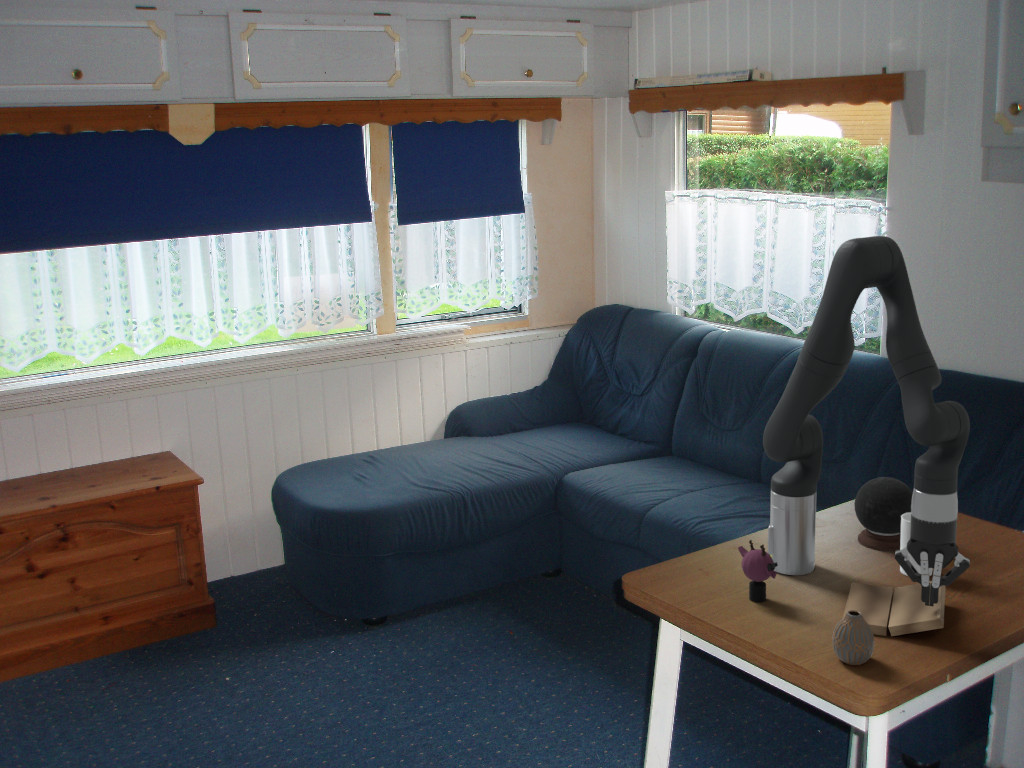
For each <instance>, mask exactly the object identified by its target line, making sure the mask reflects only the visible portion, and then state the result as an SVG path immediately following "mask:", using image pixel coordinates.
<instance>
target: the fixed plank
mask: <svg viewBox="0 0 1024 768" xmlns="http://www.w3.org/2000/svg"><path fill="white" fill-rule="evenodd" d="M893 596H894V586H893V587H892V586H885V585H884V586H883V585H877V584H869V583H861V582H851V586H850V589H849V593H848V596H847V601H846V604H845V608H844V611H843V616H842V618H843V617H844V616H845V615H846V613H847V612H848V611H850V610H856V611H859V612H861V614H862V616H863V618H864V619H865V621H866V622H867V623H868V624H869V626H870V627H871V629H872V631H873V635H877V636H884V637H887V633H888V629H889V628H888V626H889V620H890V614H891V608H892V602H893Z"/></svg>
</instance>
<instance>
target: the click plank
mask: <svg viewBox="0 0 1024 768" xmlns="http://www.w3.org/2000/svg"><path fill="white" fill-rule="evenodd" d="M929 583H930V585H931V583H932V580H929ZM921 589H922V586H921V584H920V583H918V582H917V583H914V584H907V585H902V586H898V587H894V589H893V598H892V604H891V610H890V616H889V622H888V628H887V629H888V630H889V633H890V636H891V637H894V636H895V637H896V636H901V635H907V634H914V633H919V632H920V633H921V632H926V631H932V630H939V629H944V623H945V605H946V603H945V602H946V586H945V585H944V586H940V587H939V594H938V602H937V604H934V607H933V606H925V602H922V600H921ZM929 604H930V600H929Z"/></svg>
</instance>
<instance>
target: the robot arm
mask: <svg viewBox="0 0 1024 768" xmlns="http://www.w3.org/2000/svg"><path fill="white" fill-rule="evenodd" d="M870 288H876V289H877V290H878V292H879V294H880V296H881V298H882V300H883V303H884V306H885V310H886V333H885V334H886V335H885V348H886V355H887V359H888V362H889V364H890V366H891V369H892V371H893V374H894V376H895V378H896V382H897V384H898V386H899V387H900V394H901V404H902V411H903V419H904V423H905V428H906V430H907V431H908V433H909V435H910V437H912V439H913V440H914V441H915V442H916V443H917V444H919V445H922V446H924V447H928V449H927V450H926V452H924V453H923V454H922V455H920V456H919V457H917V458H916V460H915V465H914V474H913V490H912V492H913V495H912V505H911V527H910V540H909V541H908V543H907V547H905V548H903V549H902V550H896V551H894V560H895V561H896V562H897V563H898V565H899V567H900V566H901V567H902V569H903V570H904V571H905V572H906V574H907V575H908V576H907V577H908V578H909V579H910V580H911V581H912V582H913V583H917V584H918V583H920V584H921V586H922V589H921V600H922V602H925V606H933V607H934V604H937V602H938V594H939V587H940V586H944V585H945V587H949V586H950V585H951V584H952V583H954V582H955V581H956V580H957V579H958V578H959V577H960V576H961V575H962V574H963V573H965V571H967V569H969V568H970V564H971V561H970V558H969V557H967V556H964V555H963V554H961V553H960V552H959V547H958V545H957V530H958V529H957V528H958V526H957V525H958V514H959V508H958V507H959V506H958V505H959V501H958V500H959V499H958V481H959V480H958V478H959V477H958V476H959V467H960V464H961V461H962V459H963V456H964V453H965V449H966V446H967V443H968V440H969V436H970V430H971V422H970V417H969V414H968V412H967V410H966V408H965V407H964V406H963V405H962V404H961V403H959V402H957V401H954V400H945V401H940V402H935V401H934V396H933V395H934V394H933V390H935V389H936V388H938V387H939V386H940V385H941V384H942V379H943V378H942V375H941V372H940V369H939V367H938V364H937V362H936V360H935V357H934V355H933V353H932V350H931V348H930V346H929V344H928V341H927V339H926V336H925V333H924V331H923V327H922V326H921V322H920V317H919V313H918V310H917V306H916V302H915V297H914V292H913V289H912V285H911V282H910V277H909V273H908V270H907V265H906V262H905V258H904V256H903V253H902V250H901V248H900V246H899V245H898V243H897V242H896V241H895V240H894V239H892V238H891V237H889V236H886V235H874V236H866V237H856V238H855V237H854V238H851V239H848V240H845V241H844V242H842V243H841V244H840V245H839V247H838V248H837V250H836V252H835V254H834V256H833V258H832V262H831V265H830V267H829V270H828V275H827V278H826V282H825V286H824V289H823V293H822V297H821V299H820V301H819V305H818V308H817V309H816V313H815V316H814V318H813V321H812V324H811V326H810V329H809V331H808V333H807V336H806V337H805V340H804V342H803V344H802V345H803V346H802V347H801V350H800V352H799V355H798V357H797V361H796V364H795V366H794V369H793V371H792V373H791V375H790V378H789V379H788V383H786V387H785V389H784V391H783V393H782V395H781V397H780V399H779V401H778V402H777V405H776V406H775V408H774V410H773V412H772V414H771V416H770V417H769V419H768V420H767V423H766V424H765V428H764V431H763V436H762V445H763V446H762V447H763V449H764V452H765V455H766V456H767V458H769V459H770V460H772V461H774V462H777V463H785V464H784V466H782V468H780V469H779V470H778V471H777V472H775V473H774V474H772V476H771V479H770V516H769V517H770V519H769V522H770V523H769V525H768V527H767V553H768V554H769V555H772V560H773V562H774V563H776V562H777V565H778V566H776V567H775V569H774V571H776V572H777V573H778V574H782V575H790V576H803V575H804V576H805V575H808V574H810V573H812V572H813V571H814V570H815V562H816V561H815V559H816V557H815V555H816V553H815V552H816V524H817V523H816V520H817V516H816V515H817V487H818V483H819V482H820V478H821V476H822V475H821V474H822V464H823V462H822V461H823V451H824V450H823V449H824V435H823V429H822V427H821V425H820V423H819V421H818V419H817V418H816V417H815V416H813V415H811V414H810V413H811V412H812V411H813V410H814V408H816V407H817V406H818V404H820V403H821V402H822V401H823V400H824V399H825V398H826V397H827V396H829V394H830V393H831V392H832V391H833V390H834V389H835V388H836V387H837V386H838V385H839V383H840V382H841V380H842V379H843V377H844V376H845V373H846V371H847V369H848V368H849V367H848V366H849V364H850V362H851V360H852V357H853V355H854V352H855V347H856V346H855V335H854V330H853V327H852V315H853V311H854V310H855V308H856V304H857V301H858V299H859V298H860V296H861V294H862V292H863V291H864V290H865V289H870ZM909 553H910V554H911V556H912V557H913V559H914V560H915V561H916V563H917V564H918V565H919V566H921V574H920V573H918V571H917V570H916V569H915V567H914V566H913V565H912V564H911V562H910V561H909V557H910V556H909ZM954 559H955V560H954ZM953 561H954V563H953V565H954V566H953V567H952V568H951V569H949V570H948V571H947V572H946V573H945V574H944V575H941V574H942V570H943V569H945V568H946V567H947V566H948V565H949V564H951V562H953ZM929 568H933V569H932V579H931V581H932V583H931V585H930V583H929V581H930V576H929ZM929 600H930V604H929Z"/></svg>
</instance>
